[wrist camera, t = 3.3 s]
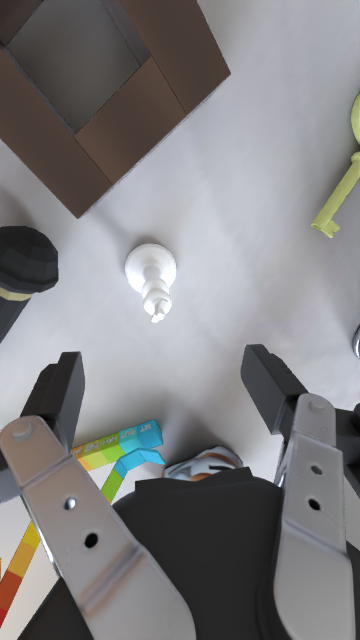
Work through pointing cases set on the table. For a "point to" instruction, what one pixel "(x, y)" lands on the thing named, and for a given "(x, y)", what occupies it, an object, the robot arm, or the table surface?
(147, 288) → the chess piece
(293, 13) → the table surface
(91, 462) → the chart
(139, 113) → the holder
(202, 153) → the table surface
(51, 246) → the microphone
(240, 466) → the lucky cat figurine
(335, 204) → the key
